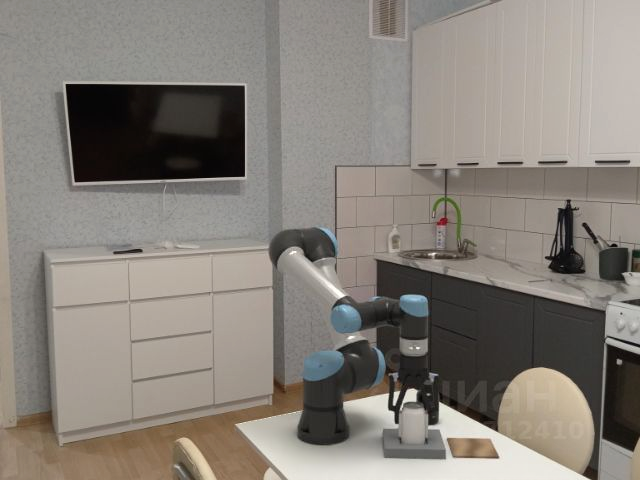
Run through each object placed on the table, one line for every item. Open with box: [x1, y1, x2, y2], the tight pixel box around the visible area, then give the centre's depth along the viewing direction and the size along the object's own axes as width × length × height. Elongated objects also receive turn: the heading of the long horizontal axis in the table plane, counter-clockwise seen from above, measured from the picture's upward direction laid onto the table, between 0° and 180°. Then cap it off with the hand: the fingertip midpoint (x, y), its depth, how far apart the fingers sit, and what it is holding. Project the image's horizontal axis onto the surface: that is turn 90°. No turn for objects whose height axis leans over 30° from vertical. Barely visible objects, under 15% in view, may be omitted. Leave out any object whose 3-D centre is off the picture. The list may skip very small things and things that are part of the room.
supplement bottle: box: [415, 379, 440, 426], centre depth 197 cm, size 7×7×12 cm
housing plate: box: [382, 428, 447, 460], centre depth 178 cm, size 16×14×2 cm
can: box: [400, 401, 426, 444], centre depth 178 cm, size 6×6×12 cm
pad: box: [446, 437, 500, 459], centre depth 177 cm, size 12×12×1 cm
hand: (413, 435), depth 178 cm, fingers closed on can, 6 cm apart
